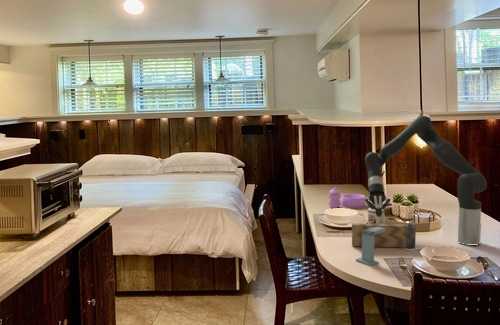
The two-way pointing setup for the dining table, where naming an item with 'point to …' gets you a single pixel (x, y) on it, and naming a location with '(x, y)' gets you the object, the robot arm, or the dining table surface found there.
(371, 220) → the teacup with lid
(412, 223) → the post
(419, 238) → the dining table surface
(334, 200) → the container set
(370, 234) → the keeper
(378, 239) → the link
